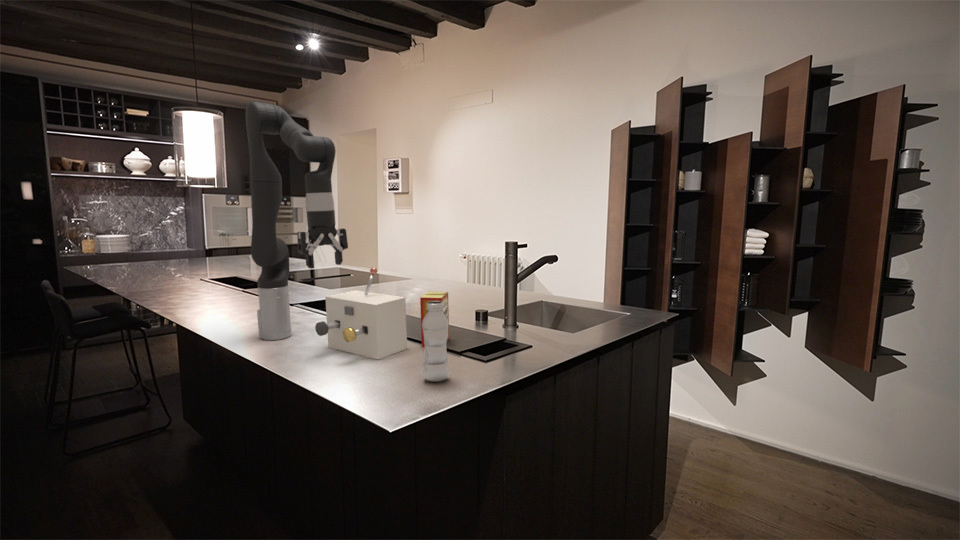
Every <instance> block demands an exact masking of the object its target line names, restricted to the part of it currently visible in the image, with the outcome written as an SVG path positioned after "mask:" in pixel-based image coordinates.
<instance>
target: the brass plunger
mask: <svg viewBox="0 0 960 540" xmlns="http://www.w3.org/2000/svg"><path fill="white" fill-rule="evenodd" d="M366 332H368V328H367V327H364V328H360V329H357V330H354V329H353V328H352V327H348V328H345V329H344V330H343V333H342V335H343V338H344V340H345V341H346V342H352V341H354V340H355V339H356V335H360V334H363V333H366Z"/></svg>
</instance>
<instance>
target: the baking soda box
mask: <svg viewBox="0 0 960 540" xmlns="http://www.w3.org/2000/svg"><path fill="white" fill-rule="evenodd" d="M419 299H420V301H419V303H420V335H421V348H425V344H424V335H423V329H422V322H423V319H424V317H425V316H426V314H427V313H428V311H427V302H430V301H440V302H442V307H443V310H441V311H442V313H443V314H444V315H445V317H446V318H447V320H448V332H447V340H448V339H449V340H450V323H449V321H450V317H449V315H450V313H449V310H450V309H449V291H427V292H426V293H425V294H423V295H422V296H421V297H420V298H419ZM449 340H448V341H449Z"/></svg>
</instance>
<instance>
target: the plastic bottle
mask: <svg viewBox="0 0 960 540" xmlns="http://www.w3.org/2000/svg"><path fill="white" fill-rule="evenodd" d="M441 310H443V307H442V302H440V301H430V302H427V311H428V313H427V314H426V316H425V317H424V319H423V322H422V329H423V335H424V344H425V347H424V354H423V355H424V357H423V364H422V375H423V378H424V379H425V380H426V381H427V382H433V383H434V382H435V383H436V382H437V383H438V382H443V381H445V380H447V379H448V377H449V373H450V365H449V361H448V354H447V353H448V352H447V350H448V349H447V343H448V341H447V332H448V320H447V318H446V317H445V315H444V314H443V313H442V311H441Z"/></svg>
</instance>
